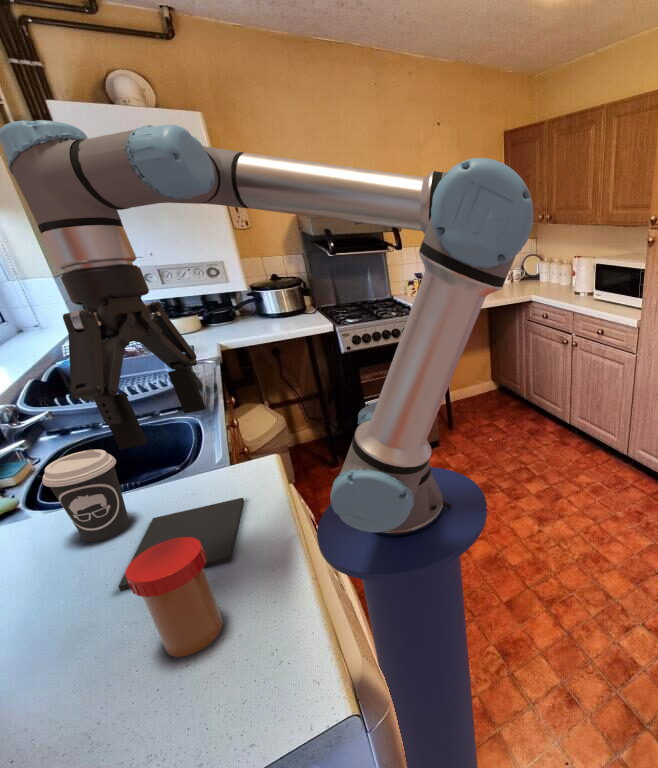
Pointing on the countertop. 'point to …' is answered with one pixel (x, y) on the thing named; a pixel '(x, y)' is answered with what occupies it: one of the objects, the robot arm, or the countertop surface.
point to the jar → (186, 616)
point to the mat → (197, 531)
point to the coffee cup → (89, 493)
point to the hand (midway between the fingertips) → (168, 426)
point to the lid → (166, 566)
